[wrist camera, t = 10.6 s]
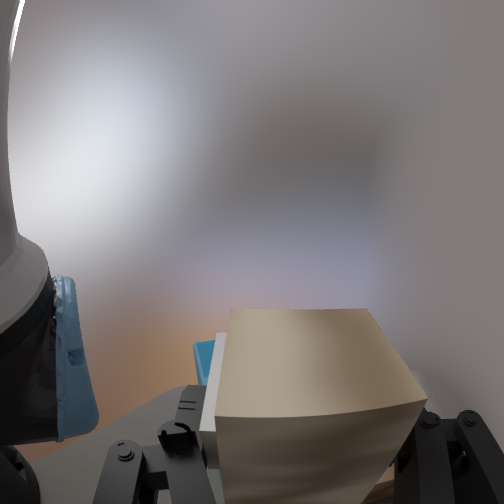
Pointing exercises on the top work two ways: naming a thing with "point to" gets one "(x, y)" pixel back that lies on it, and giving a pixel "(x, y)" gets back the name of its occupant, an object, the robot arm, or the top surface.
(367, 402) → the birch block
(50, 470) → the top surface
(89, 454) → the top surface
